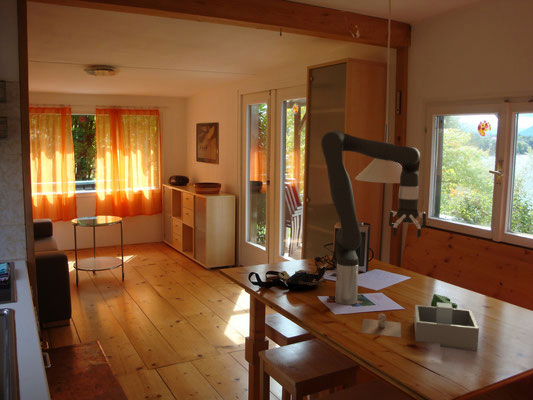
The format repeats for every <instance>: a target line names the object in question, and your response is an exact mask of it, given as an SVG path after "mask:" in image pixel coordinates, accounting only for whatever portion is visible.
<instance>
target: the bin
mask: <svg viewBox="0 0 533 400" xmlns="http://www.w3.org/2000/svg"><path fill="white" fill-rule="evenodd" d="M413 318H414V319H413V321H414V322H413V324H414V326H413V327H414V336H415V337H414V338H415V342H418V343H427V344H435V345H436V344H437V345H440V348H447V349H456V350H464V351H465V350H466V351H472V352H473V351H474V352H478V346H479V333H480V331H479V330H480V328H479V326H478V323H477V321H476V319H475V316H474V314H473V312H472V309H465V308H464V309H463V308H457V309H455V308H453V310H452V325H450V324H441V323H436V307H433V306H431V305H421V304H415V305H414V317H413Z"/></svg>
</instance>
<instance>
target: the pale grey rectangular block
mask: <svg viewBox="0 0 533 400" xmlns="http://www.w3.org/2000/svg"><path fill="white" fill-rule="evenodd" d="M452 310H453V308H452V305H451V304H449V303H439V302H437V305H436V323H441V324H450V325H452Z"/></svg>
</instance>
